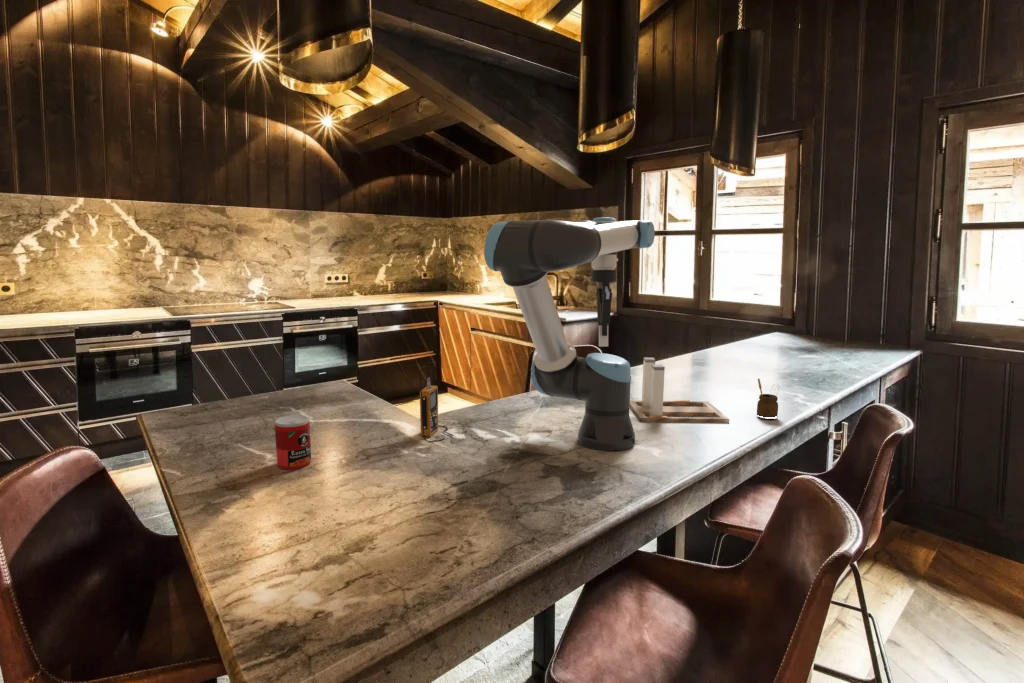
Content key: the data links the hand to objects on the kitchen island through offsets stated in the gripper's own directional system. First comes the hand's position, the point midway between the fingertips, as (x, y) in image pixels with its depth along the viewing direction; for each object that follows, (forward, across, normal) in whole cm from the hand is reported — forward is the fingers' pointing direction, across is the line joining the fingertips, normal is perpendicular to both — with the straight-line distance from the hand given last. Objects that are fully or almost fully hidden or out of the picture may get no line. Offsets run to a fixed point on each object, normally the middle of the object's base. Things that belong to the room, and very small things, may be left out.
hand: (603, 346), depth 177 cm
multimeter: (+23, -18, +49) cm, 56 cm away
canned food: (+24, -40, +82) cm, 94 cm away
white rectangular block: (+21, -7, -15) cm, 27 cm away
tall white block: (+21, +5, -15) cm, 26 cm away
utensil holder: (+23, -3, -50) cm, 55 cm away
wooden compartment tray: (+22, -2, -22) cm, 32 cm away
